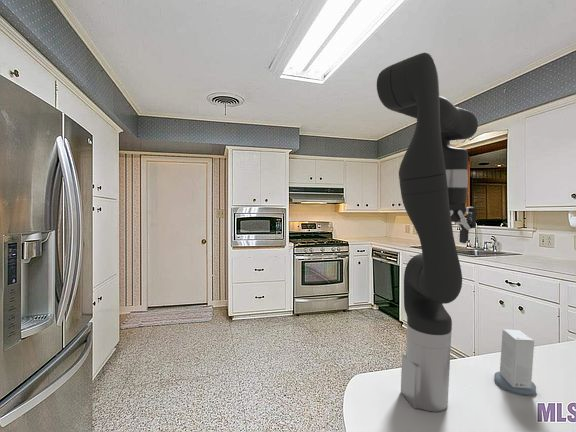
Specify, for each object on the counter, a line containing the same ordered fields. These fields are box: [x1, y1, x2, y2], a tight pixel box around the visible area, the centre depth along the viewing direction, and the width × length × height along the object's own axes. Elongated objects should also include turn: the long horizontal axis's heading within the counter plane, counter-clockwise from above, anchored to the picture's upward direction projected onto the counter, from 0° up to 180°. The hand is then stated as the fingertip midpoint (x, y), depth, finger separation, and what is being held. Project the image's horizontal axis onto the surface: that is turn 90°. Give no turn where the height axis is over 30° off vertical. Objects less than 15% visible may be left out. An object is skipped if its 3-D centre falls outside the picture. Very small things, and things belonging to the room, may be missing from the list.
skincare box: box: [499, 328, 535, 389], centre depth 77 cm, size 6×4×12 cm
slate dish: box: [493, 371, 537, 397], centre depth 78 cm, size 8×8×1 cm
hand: (449, 243), depth 90 cm, fingers open, 8 cm apart
